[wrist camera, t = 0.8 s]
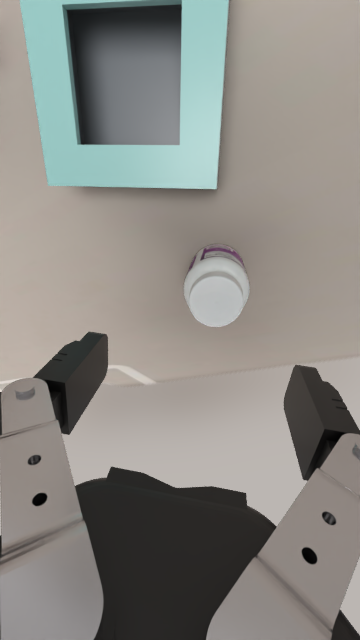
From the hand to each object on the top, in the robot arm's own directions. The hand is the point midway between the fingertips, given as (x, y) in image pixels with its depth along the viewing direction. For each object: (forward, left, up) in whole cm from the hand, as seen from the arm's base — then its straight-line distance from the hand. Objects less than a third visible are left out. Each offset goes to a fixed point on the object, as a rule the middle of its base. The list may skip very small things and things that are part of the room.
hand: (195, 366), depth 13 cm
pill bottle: (-1, +1, -19) cm, 19 cm away
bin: (+6, -13, -19) cm, 24 cm away
